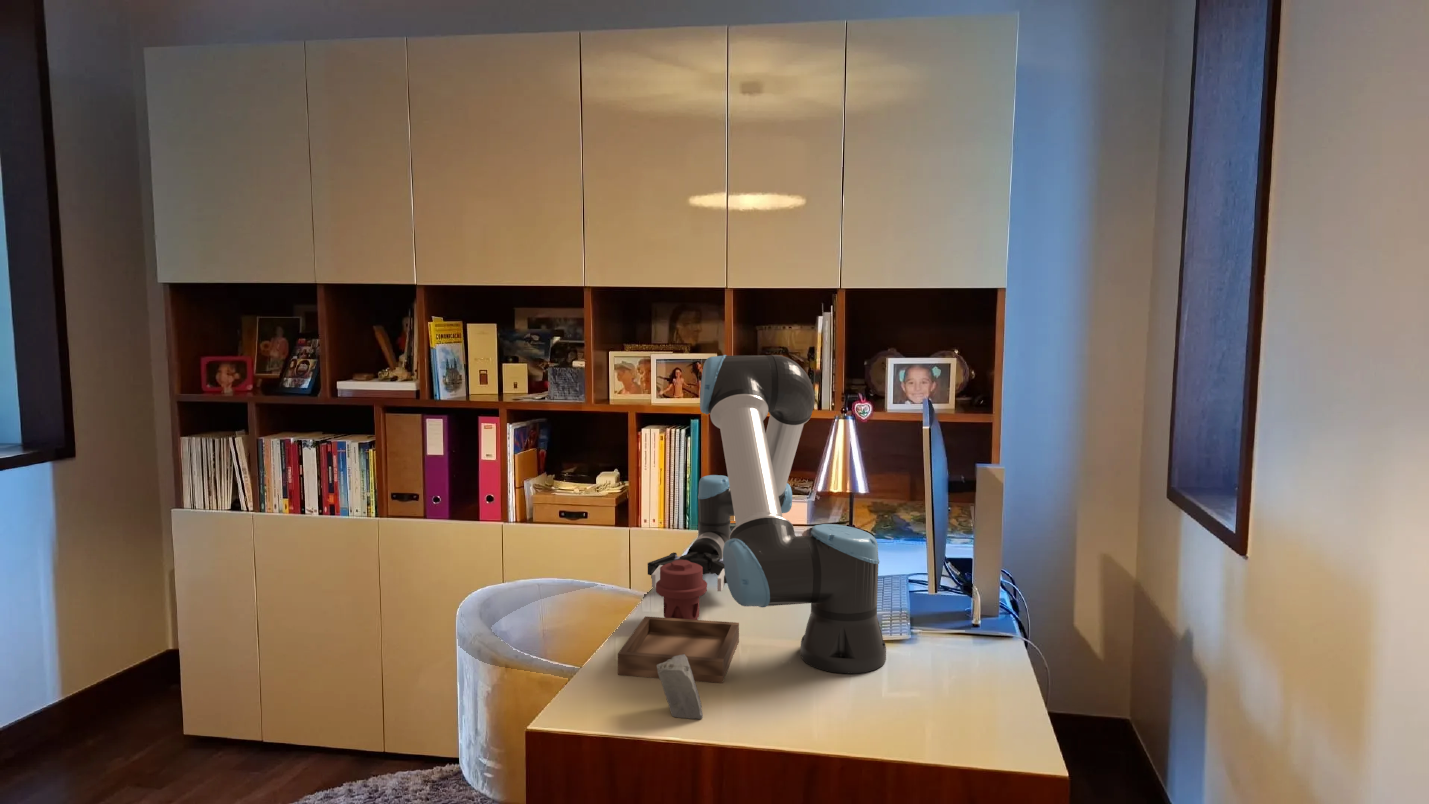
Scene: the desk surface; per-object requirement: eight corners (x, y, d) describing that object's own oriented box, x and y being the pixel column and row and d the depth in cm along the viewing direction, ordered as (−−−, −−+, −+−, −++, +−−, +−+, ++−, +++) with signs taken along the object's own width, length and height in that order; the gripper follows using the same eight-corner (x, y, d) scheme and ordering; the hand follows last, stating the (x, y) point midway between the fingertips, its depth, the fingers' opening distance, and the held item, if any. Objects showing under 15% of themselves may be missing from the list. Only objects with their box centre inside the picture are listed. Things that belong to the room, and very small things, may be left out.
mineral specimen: (696, 689, 141) (700, 647, 138) (707, 725, 133) (711, 680, 131) (651, 692, 139) (654, 649, 137) (659, 729, 131) (662, 683, 129)
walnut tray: (738, 641, 163) (739, 622, 162) (722, 683, 145) (722, 661, 145) (645, 635, 166) (645, 616, 165) (617, 674, 148) (617, 653, 148)
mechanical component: (711, 616, 176) (700, 634, 166) (663, 612, 178) (650, 630, 168) (711, 556, 174) (700, 571, 165) (663, 553, 176) (649, 568, 167)
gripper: (760, 572, 196) (747, 604, 175) (652, 566, 200) (626, 597, 180) (761, 540, 195) (747, 568, 174) (652, 534, 200) (626, 561, 179)
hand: (686, 583), depth 177 cm, fingers open, 13 cm apart
